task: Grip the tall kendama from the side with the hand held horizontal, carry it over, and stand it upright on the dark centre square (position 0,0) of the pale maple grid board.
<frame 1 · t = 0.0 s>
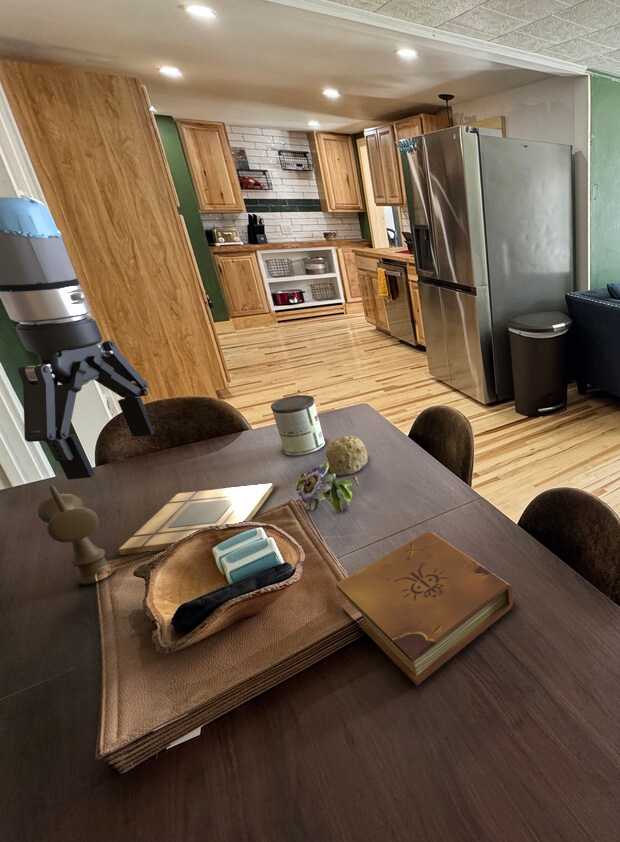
hand: (115, 454, 73), 29 cm above the table, tool pointing down, fingers open, 13 cm apart
passion flower: (330, 502, 111), on the table
board: (205, 518, 105), on the table
kendama: (99, 577, 88), on the table
rock: (348, 466, 126), on the table
diary: (428, 608, 82), on the table
coffee can: (304, 447, 136), on the table
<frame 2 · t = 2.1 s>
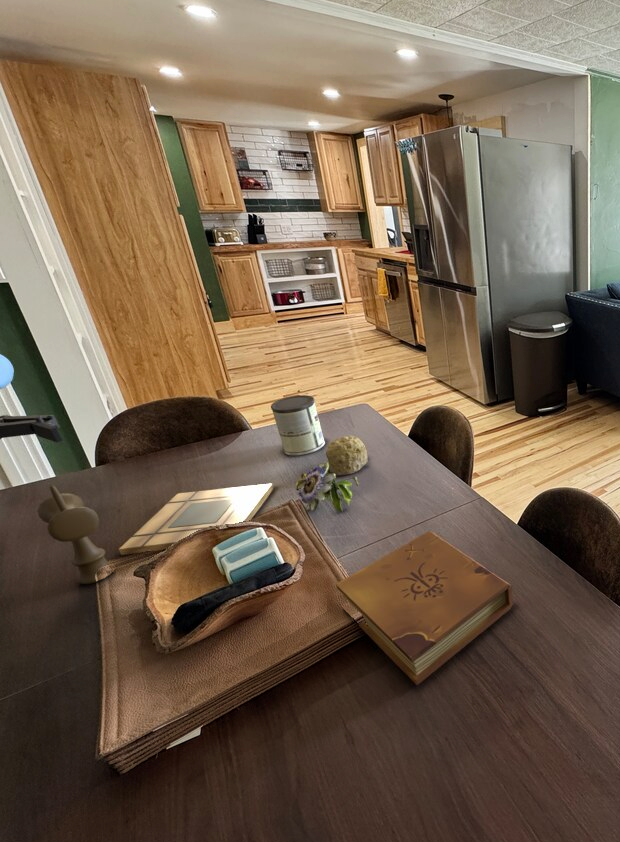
hand: (3, 452, 81), 25 cm above the table, tool horizontal, fingers open, 13 cm apart
nothing on the table moved.
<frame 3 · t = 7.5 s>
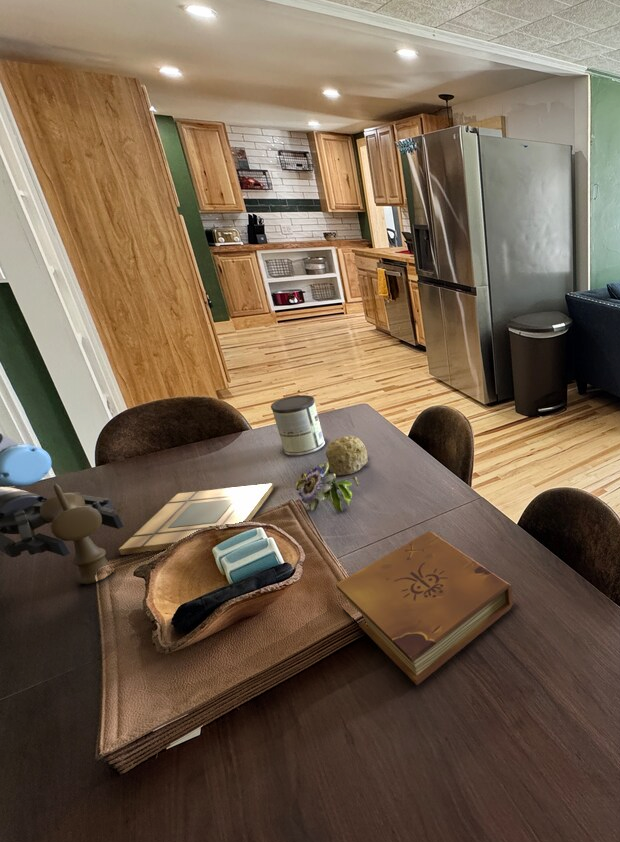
hand: (92, 534, 83), 11 cm above the table, tool horizontal, fingers closed on kendama, 7 cm apart
kendama: (99, 577, 88), on the table, touching gripper
everything else where it was.
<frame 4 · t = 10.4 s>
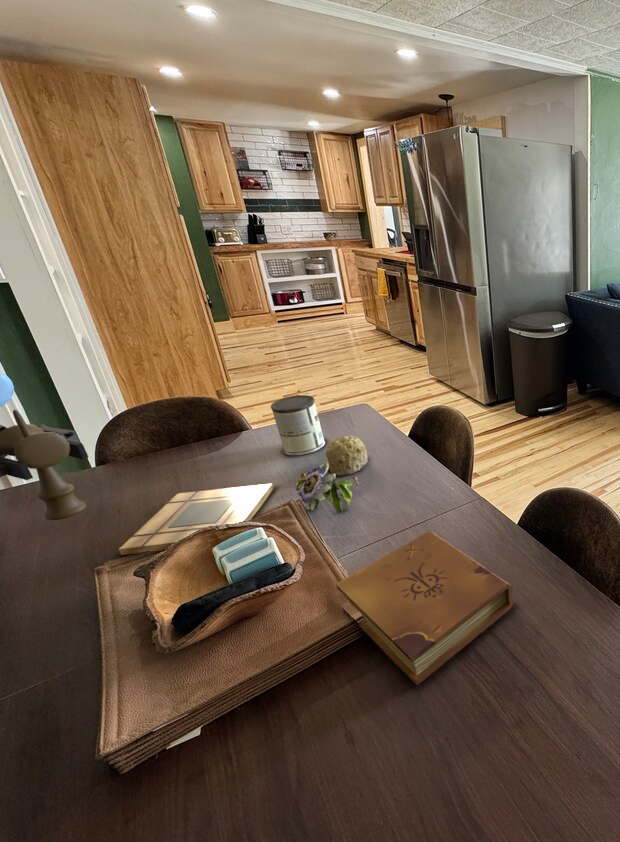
hand: (55, 461, 77), 26 cm above the table, tool horizontal, fingers closed on kendama, 6 cm apart
kendama: (68, 514, 83), point 14 cm above the table, touching gripper
everything else where it was.
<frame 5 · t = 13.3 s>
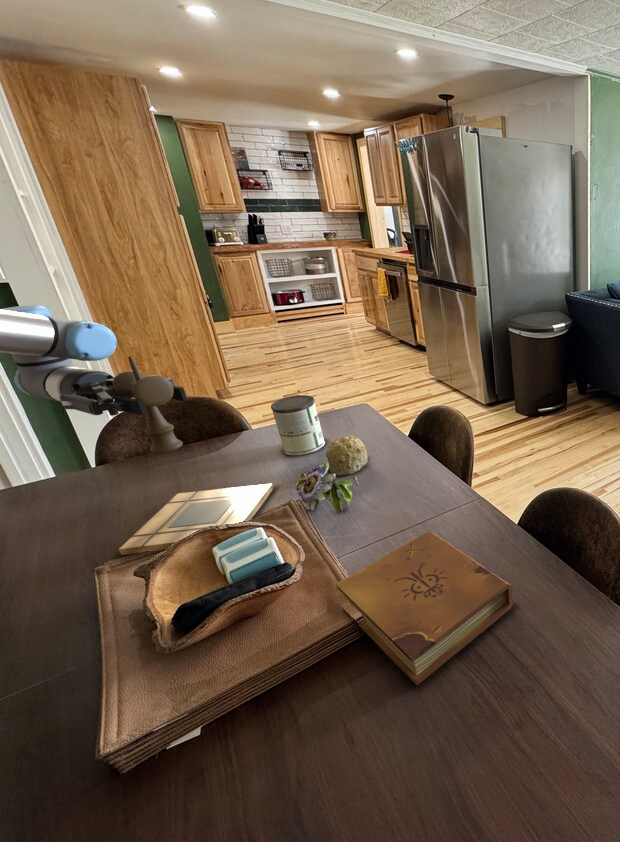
hand: (163, 400, 90), 30 cm above the table, tool horizontal, fingers closed on kendama, 6 cm apart
kendama: (168, 450, 96), point 18 cm above the table, touching gripper
everything else where it was.
when the fingers open (13 cm above the table, at t = 18.1 s): kendama stays where it is, resting on board.
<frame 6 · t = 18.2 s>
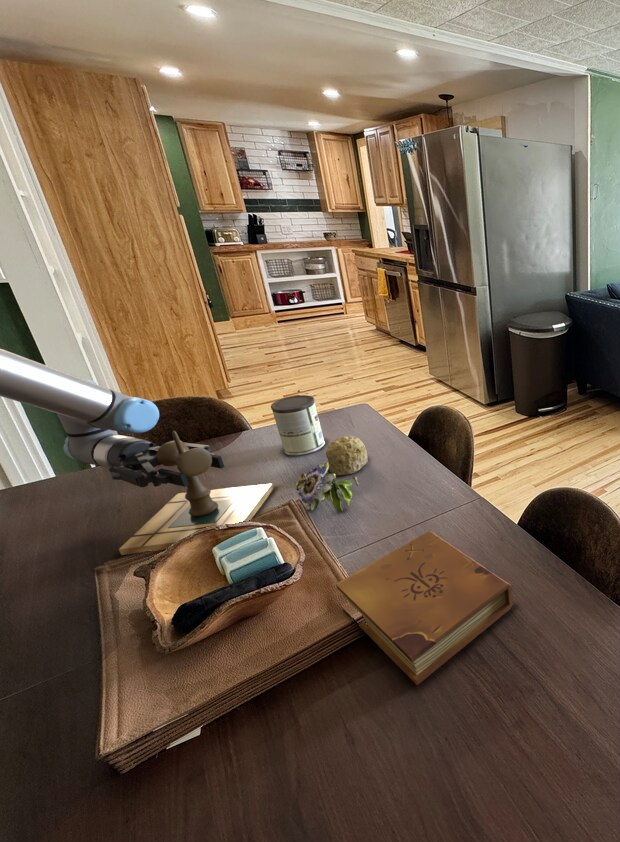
hand: (203, 471, 98), 13 cm above the table, tool horizontal, fingers open, 7 cm apart
kendama: (204, 512, 105), point 1 cm above the table, touching board
everything else where it was.
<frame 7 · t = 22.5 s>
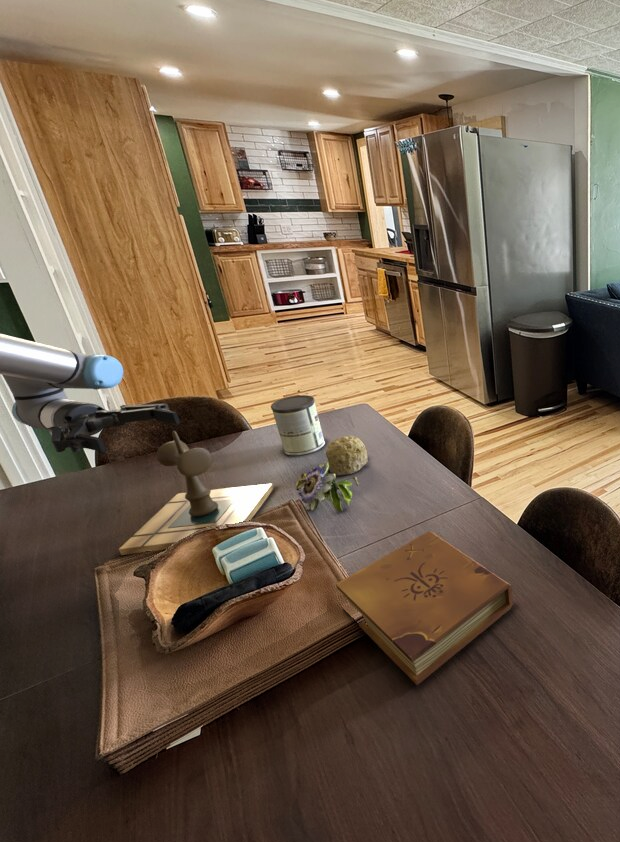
hand: (141, 430, 100), 20 cm above the table, tool horizontal, fingers open, 13 cm apart
nothing on the table moved.
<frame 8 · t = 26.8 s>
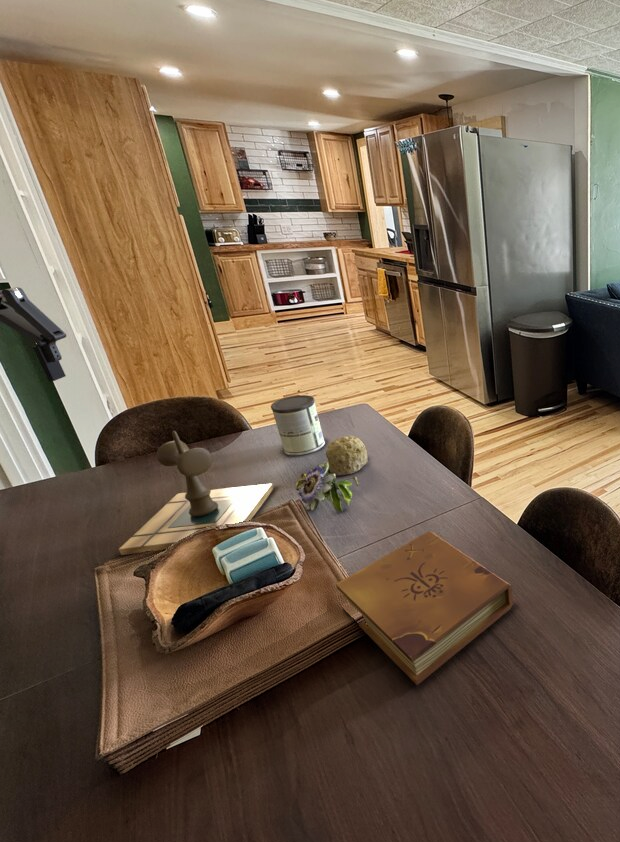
hand: (12, 381, 85), 35 cm above the table, tool pointing down, fingers open, 13 cm apart
nothing on the table moved.
at the end: kendama 0.3 cm off-centre on the board, point 1.4 cm above the board's base; kendama tilted 0°; the gripper is holding nothing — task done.
